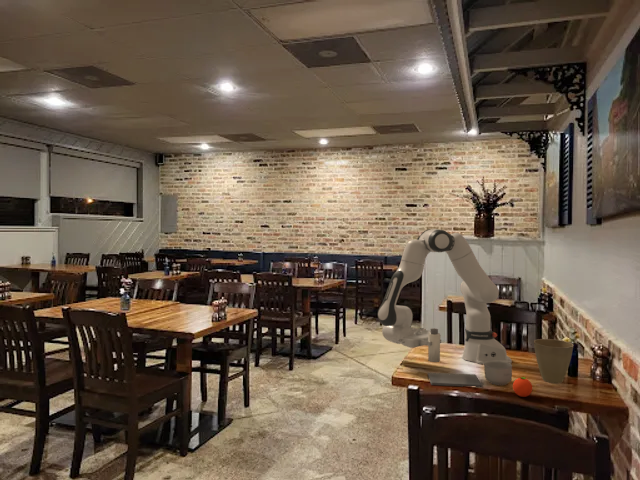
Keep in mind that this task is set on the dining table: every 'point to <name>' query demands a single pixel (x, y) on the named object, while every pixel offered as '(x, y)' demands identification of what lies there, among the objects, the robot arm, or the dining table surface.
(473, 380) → the slate board
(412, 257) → the robot arm
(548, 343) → the plant pot
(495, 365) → the teacup
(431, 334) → the pepper mill
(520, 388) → the clementine
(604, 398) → the dining table surface
